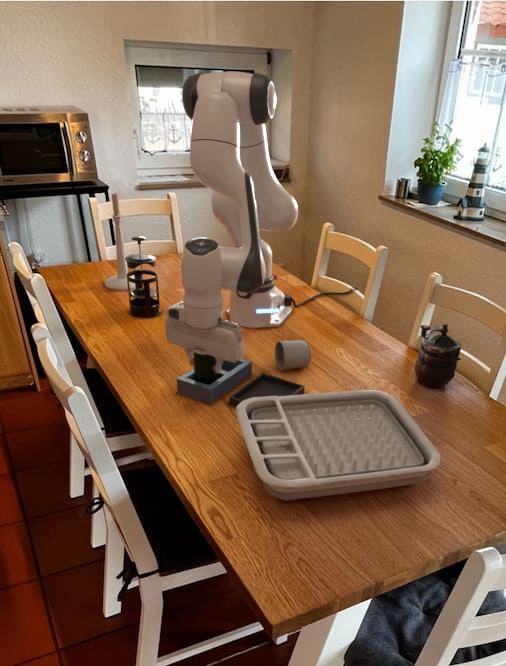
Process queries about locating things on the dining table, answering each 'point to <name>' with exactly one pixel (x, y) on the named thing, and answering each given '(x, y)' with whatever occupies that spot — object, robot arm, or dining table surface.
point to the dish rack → (334, 443)
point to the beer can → (204, 367)
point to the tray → (266, 389)
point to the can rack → (220, 386)
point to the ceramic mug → (292, 354)
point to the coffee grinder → (437, 357)
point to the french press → (142, 285)
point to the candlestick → (119, 253)
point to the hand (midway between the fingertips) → (205, 368)
